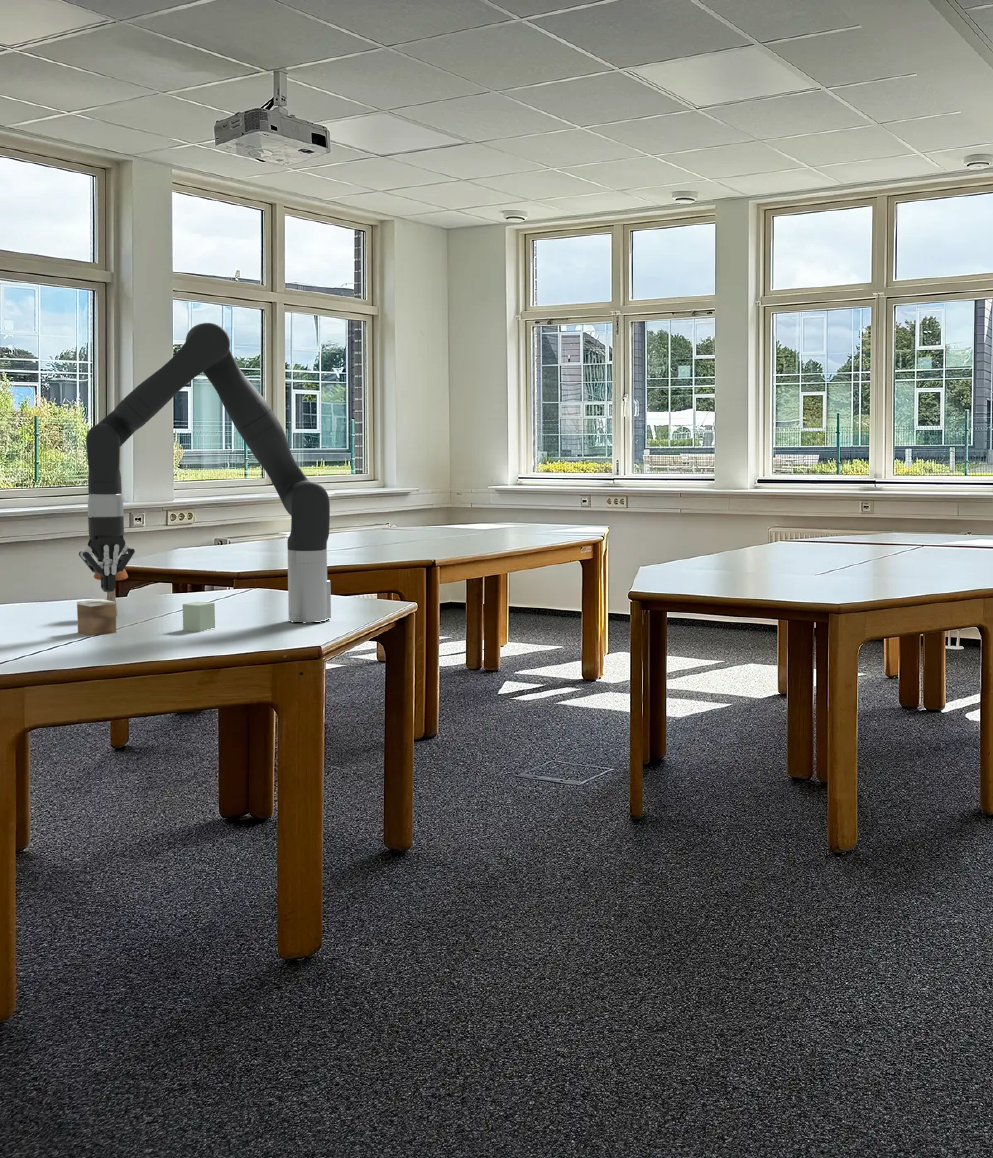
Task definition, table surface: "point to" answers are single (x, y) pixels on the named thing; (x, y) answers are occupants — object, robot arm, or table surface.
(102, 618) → the walnut block
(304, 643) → the table surface
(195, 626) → the sage block
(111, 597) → the mushroom
